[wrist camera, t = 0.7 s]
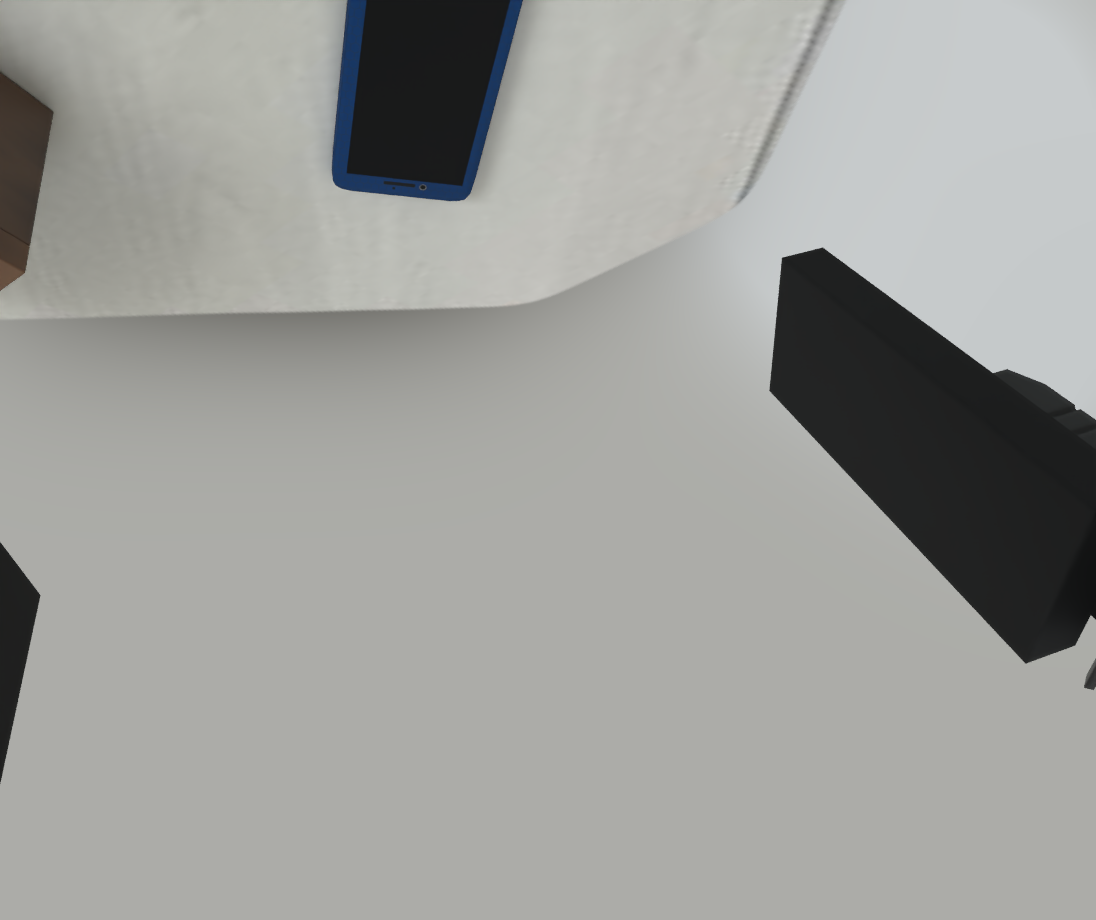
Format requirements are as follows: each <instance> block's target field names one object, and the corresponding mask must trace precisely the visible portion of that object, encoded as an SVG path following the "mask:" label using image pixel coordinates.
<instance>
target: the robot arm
mask: <svg viewBox="0 0 1096 920" xmlns="http://www.w3.org/2000/svg"><path fill="white" fill-rule="evenodd" d="M770 392H771V393H772V394H773V395H774V396H775V397H776V398H777V399H778V400H779V401H780V403H781V404H782V405H783V406H784V407H785V408H786V409H787V410H788V411H789V412H790V413H791V414H792V415H793V416H794V417H795V418H796V420H797V421H798V422H799V423H800V424H801V425H802V426H803V427H804V428H805V429H806V430H807V431H808V432H809V433H810V434H811V436H812V437H813V438H815V440H816V441H817V442H818V443H819V444H820V445H821V446H822V447H823V448H824V449H825V450H826V451H827V453H829V455H830V456H831V457H832V458H833V459H834V460H835V461H836V462H837V463H838V464H839V465H840V466H841V467H842V468H843V469H844V471H845V472H846V473H847V474H848V475H849V476H850V477H851V478H852V479H853V480H854V481H855V482H856V483H857V484H858V486H859V487H860V488H861V489H862V490H863V491H864V492H865V493H866V494H867V495H868V496H869V497H870V498H871V499H872V500H873V501H874V503H875V504H876V505H877V506H878V507H879V508H880V509H881V510H882V511H883V512H884V513H885V514H886V515H887V516H888V517H889V518H890V519H891V521H892V522H893V523H894V524H895V525H896V526H897V527H898V528H899V529H900V530H901V531H902V532H903V533H904V535H905V536H906V537H907V538H908V539H909V540H911V542H912V543H913V544H914V545H915V546H916V547H917V548H918V549H919V550H920V552H921V553H922V554H923V555H924V556H925V557H926V558H927V559H928V560H929V561H930V562H931V563H932V564H933V565H934V566H935V567H936V569H937V570H938V571H939V572H940V573H941V574H942V575H943V576H944V577H945V578H946V579H947V580H948V581H949V582H950V583H951V585H952V586H953V587H954V588H955V589H956V590H957V591H958V592H959V593H960V594H961V595H962V596H963V597H964V598H965V599H966V601H968V603H969V604H970V605H971V606H972V607H973V608H974V609H975V610H976V611H977V612H978V613H979V614H980V615H981V616H982V617H983V619H984V620H985V621H986V622H987V623H988V624H989V625H990V626H991V627H992V628H993V629H994V630H995V631H996V632H997V634H998V635H999V636H1000V637H1001V638H1002V639H1003V640H1004V641H1005V642H1006V643H1007V644H1008V645H1009V646H1010V647H1011V648H1012V649H1013V650H1014V652H1015V653H1016V654H1017V655H1018V656H1019V657H1020V658H1021V659H1022V660H1023V661H1024V662H1025V663H1028V662H1031V661H1034V660H1037V659H1039V658H1042V657H1045V656H1047V655H1050V654H1053V653H1056V652H1058V651H1061V650H1064V649H1067V648H1069V647H1072V646H1075V645H1076V643H1077V641H1078V638H1079V637H1080V635H1081V633H1082V631H1083V629H1084V627H1085V625H1086V623H1087V621H1088V619H1089V617H1090V615H1092V616H1093V617H1094V618H1095V619H1096V420H1095V419H1094V418H1092V417H1091V416H1089V415H1088V414H1086V413H1085V412H1084V411H1082V410H1081V409H1080V410H1076V409H1075V405H1074V404H1072V403H1071V402H1070V401H1068V400H1067V399H1065V398H1064V397H1062V396H1061V395H1059V394H1058V393H1057V392H1055V391H1054V390H1053V389H1051V388H1050V387H1048V386H1047V385H1045V384H1043V383H1041V382H1038V381H1036V380H1033V379H1030V378H1028V377H1025V376H1023V375H1020V374H1018V373H1015V372H1013V371H1010V370H1008V369H1007V370H1003V371H999V372H996V373H992V372H990V371H989V370H988V369H986V368H985V367H984V366H982V365H981V364H979V363H978V362H977V361H975V360H974V359H973V358H971V357H970V356H969V355H967V354H966V353H965V352H963V351H962V350H961V349H959V348H958V347H956V346H955V345H954V344H953V343H951V342H950V341H948V340H947V339H946V338H944V337H943V336H942V335H940V334H939V333H938V332H936V331H935V330H933V329H932V328H931V327H930V326H928V325H927V324H925V323H924V322H923V321H921V320H920V319H918V318H917V317H916V316H915V315H913V314H912V313H911V312H909V311H908V310H906V309H905V308H904V307H902V306H901V305H900V304H898V303H897V302H896V301H894V300H893V299H891V298H890V297H889V296H888V295H886V294H885V293H883V292H882V291H881V290H879V289H878V288H877V287H875V286H874V285H873V284H871V283H870V282H869V281H867V280H866V279H864V278H863V277H862V276H860V275H859V274H858V273H856V272H855V271H854V270H852V269H851V268H849V267H848V266H847V265H845V264H844V263H843V262H841V261H840V260H839V259H837V258H836V257H835V256H833V255H832V254H831V253H829V252H828V251H827V250H825V249H824V248H820V249H815V250H812V251H807V252H804V253H799V254H795V255H792V256H788V257H783V258H782V264H781V275H780V285H779V296H778V306H777V317H776V328H775V338H774V350H773V360H772V371H771V381H770ZM39 599H40V594H39V593H38V592H37V590H36V589H35V588H34V586H33V585H32V584H31V582H30V581H29V580H28V578H27V577H26V576H25V574H24V573H23V572H22V570H21V569H20V568H19V566H18V565H17V564H16V562H15V561H14V560H13V558H12V557H11V556H10V555H9V553H8V552H7V550H6V549H5V548H4V547H3V545H2V544H1V543H0V782H1V778H2V773H3V768H4V763H5V759H6V754H7V749H8V745H9V740H10V735H11V730H12V726H13V721H14V717H15V712H16V707H17V702H18V698H19V693H20V688H21V684H22V679H23V674H24V669H25V664H26V660H27V655H28V651H29V646H30V641H31V637H32V632H33V626H34V622H35V618H36V613H37V609H38V603H39ZM1095 687H1096V659H1095V661H1094V663H1093V665H1092V666H1091V668H1090V670H1089V672H1088V674H1087V676H1086V681H1085V685H1084V688H1088V689H1092V690H1094V688H1095Z"/></svg>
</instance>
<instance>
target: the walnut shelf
mask: <svg viewBox="0 0 1096 920" xmlns="http://www.w3.org/2000/svg"><path fill="white" fill-rule="evenodd" d="M52 119H53V111H51V110H50V109H49V108H47V107H46V106H45V105H43V104H42V103H41V102H39V101H38V100H37V99H35V98H34V97H33V96H31V95H30V94H29V93H27V92H26V91H25V90H23V89H22V88H20V87H19V86H18V85H16V84H15V83H14V82H12V81H11V80H10V79H8V78H7V77H6V76H4V75H3V74H2V73H0V291H1V290H2V289H3V288H5V287H6V286H8V285H9V284H10V283H12V282H13V281H15V280H16V279H17V278H19V277H20V276H21V275H23V274H24V273H25V270H26V265H27V259H28V254H29V248H30V247H29V246H30V243H31V237H32V231H33V226H34V220H35V214H36V209H37V203H38V197H39V192H40V186H41V181H42V175H43V169H44V164H45V158H46V152H47V147H48V141H49V135H50V130H51V124H52Z"/></svg>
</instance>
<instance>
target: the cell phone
mask: <svg viewBox="0 0 1096 920" xmlns="http://www.w3.org/2000/svg"><path fill="white" fill-rule="evenodd" d="M522 2H523V0H348V1H347V11H346V22H345V32H344V42H343V53H342V63H341V73H340V83H339V94H338V104H337V114H336V125H335V135H334V145H333V159H332V175H333V181H334V183H335V185H336V186H338V187H340V188H342V189H346V190H351V191H359V192H369V193H379V194H388V195H398V196H407V197H417V198H426V199H436V200H446V201H460V200H465V199H466V198H467V197H468V196H469V194H470V193H471V190H472V187H473V184H474V180H475V177H476V174H477V170H478V166H479V163H480V159H481V155H482V151H483V148H484V144H485V140H486V136H487V133H488V129H489V125H490V121H491V118H492V114H493V110H494V106H495V103H496V99H497V95H498V91H499V88H500V84H501V80H502V76H503V73H504V69H505V65H506V61H507V58H508V54H509V50H510V47H511V43H512V39H513V35H514V32H515V28H516V24H517V20H518V17H519V13H520V9H521V5H522Z"/></svg>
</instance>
